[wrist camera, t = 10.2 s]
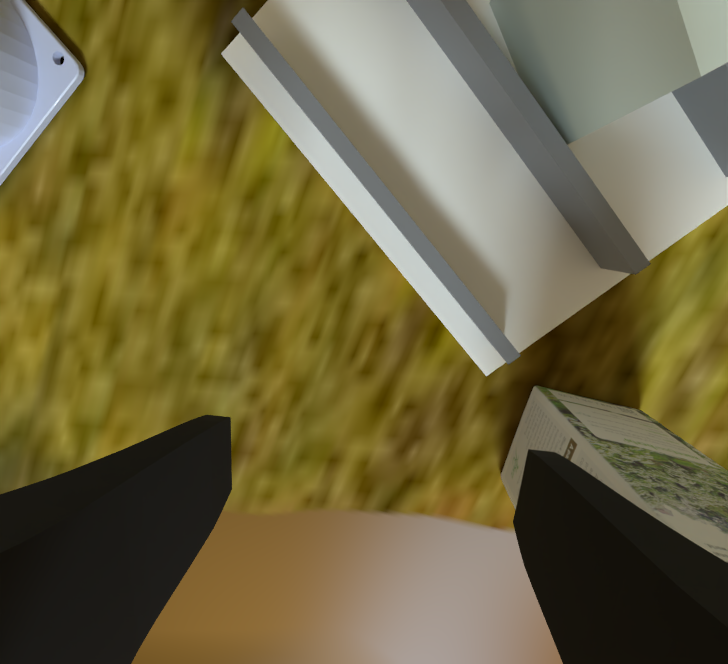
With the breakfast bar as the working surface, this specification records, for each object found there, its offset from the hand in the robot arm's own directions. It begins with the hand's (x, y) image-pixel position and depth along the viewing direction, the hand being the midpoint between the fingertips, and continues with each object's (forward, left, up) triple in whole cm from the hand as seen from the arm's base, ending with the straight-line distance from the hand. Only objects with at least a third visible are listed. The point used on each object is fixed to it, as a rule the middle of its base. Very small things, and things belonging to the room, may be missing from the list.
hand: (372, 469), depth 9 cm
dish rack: (-5, +10, -10) cm, 15 cm away
